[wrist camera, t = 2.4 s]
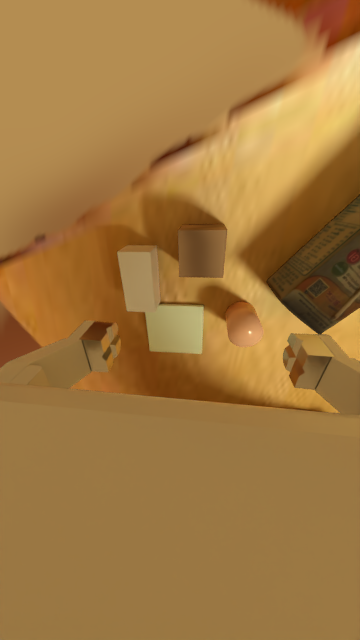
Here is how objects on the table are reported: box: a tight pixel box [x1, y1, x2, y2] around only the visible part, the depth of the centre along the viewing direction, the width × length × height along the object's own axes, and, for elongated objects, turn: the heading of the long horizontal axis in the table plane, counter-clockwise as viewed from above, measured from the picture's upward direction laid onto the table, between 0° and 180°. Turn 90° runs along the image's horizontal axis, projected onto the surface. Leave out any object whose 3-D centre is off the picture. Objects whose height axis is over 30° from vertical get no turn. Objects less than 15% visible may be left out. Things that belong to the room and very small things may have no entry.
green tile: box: [145, 304, 204, 354], centre depth 33 cm, size 9×9×1 cm
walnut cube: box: [178, 224, 227, 278], centre depth 25 cm, size 5×5×5 cm
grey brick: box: [117, 245, 161, 312], centre depth 28 cm, size 8×4×4 cm, turn 1°
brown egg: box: [225, 302, 263, 347], centre depth 29 cm, size 4×4×5 cm
